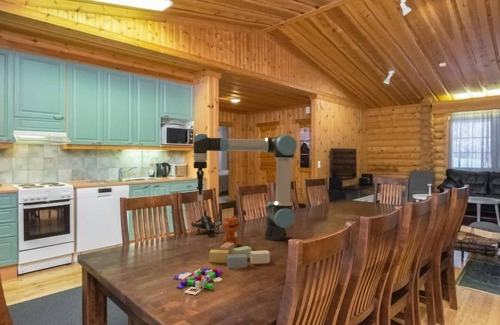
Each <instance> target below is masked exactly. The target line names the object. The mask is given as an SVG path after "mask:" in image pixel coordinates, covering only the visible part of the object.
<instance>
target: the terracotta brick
mask: <svg viewBox="0 0 500 325" xmlns="http://www.w3.org/2000/svg"><path fill="white" fill-rule="evenodd" d="M234 248H235V246H234V243H229V242H226V243H225V242H224V243H222V244H221V245H220V246H219V250H229V255H232V249H234Z"/></svg>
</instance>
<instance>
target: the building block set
mask: <svg viewBox="0 0 500 325" xmlns="http://www.w3.org/2000/svg"><path fill="white" fill-rule="evenodd" d="M222 273H223V269H221V268H213V269H211V268H210V267H209V268H208V267H202V268H199V269H197V270H195V271H193V272H189V271H187V270H185V271H181V272H179V274H175V275H174V277H173V280H175V279H176V280H177V279H178V280H180V279H181V280H180V284H178V285H177V286H176V289H179V288H182V289H184V288H185V287H186V286H189V285H190V287H189V288H188V289H186V290H184V291H183V294H185V293H188V294H187V295H189V294H193V295H196V294H197V293H198V294H200V293H201V292H202V291H203V289H204V288H205V289H207V290H208V289H212V290H213V289H214V284H213V283H221V282H222V281H223V279H222V278H221V277H220V275H221V274H222ZM218 276H219V277H218ZM216 277H217V278H216ZM176 280H175V281H176ZM209 281H210V282H211V281H212V282H213V281H214V282H213V283H210V282H209ZM220 281H221V282H220ZM184 286H185V287H184ZM194 286H195V287H194ZM183 287H184V288H183ZM201 287H202V288H201ZM191 289H192V290H191ZM193 289H196V290H195V291H194V290H193ZM189 290H190V291H189ZM197 290H198V291H197ZM201 290H202V291H201ZM200 291H201V292H200ZM199 292H200V293H199ZM198 294H197V295H198ZM193 295H192V296H193ZM197 295H196V296H197Z"/></svg>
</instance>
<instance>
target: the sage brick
mask: <svg viewBox="0 0 500 325" xmlns="http://www.w3.org/2000/svg"><path fill="white" fill-rule="evenodd" d="M250 251H253V249H252V247H250V246H248V245H246V246H240V247H234V249H232V254H231V255H235V254H246V256H247V259H250Z"/></svg>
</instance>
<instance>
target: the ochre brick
mask: <svg viewBox="0 0 500 325" xmlns="http://www.w3.org/2000/svg"><path fill="white" fill-rule="evenodd" d="M227 255H229V250H220V249H210V251H209V252H208V258H209V260H208V262H209V263H221V264H227Z"/></svg>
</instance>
